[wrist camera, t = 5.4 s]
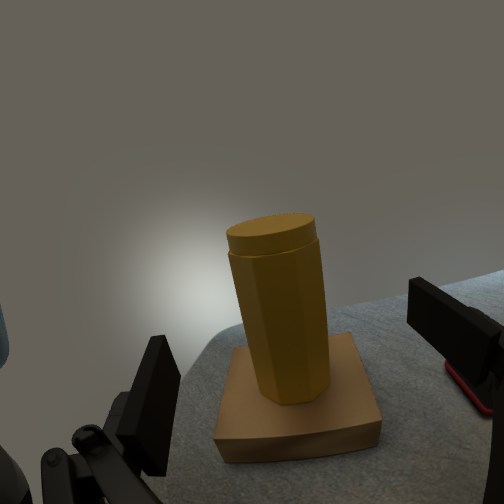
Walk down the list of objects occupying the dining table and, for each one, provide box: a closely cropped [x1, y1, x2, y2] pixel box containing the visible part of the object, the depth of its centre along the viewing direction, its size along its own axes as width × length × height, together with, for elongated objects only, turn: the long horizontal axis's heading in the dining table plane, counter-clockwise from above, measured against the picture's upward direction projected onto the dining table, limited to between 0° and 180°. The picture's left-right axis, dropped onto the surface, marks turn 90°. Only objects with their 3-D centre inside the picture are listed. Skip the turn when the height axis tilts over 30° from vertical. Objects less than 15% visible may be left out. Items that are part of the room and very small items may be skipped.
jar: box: [226, 213, 331, 405], centre depth 17 cm, size 5×5×11 cm
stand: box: [213, 332, 382, 463], centre depth 18 cm, size 10×10×8 cm
